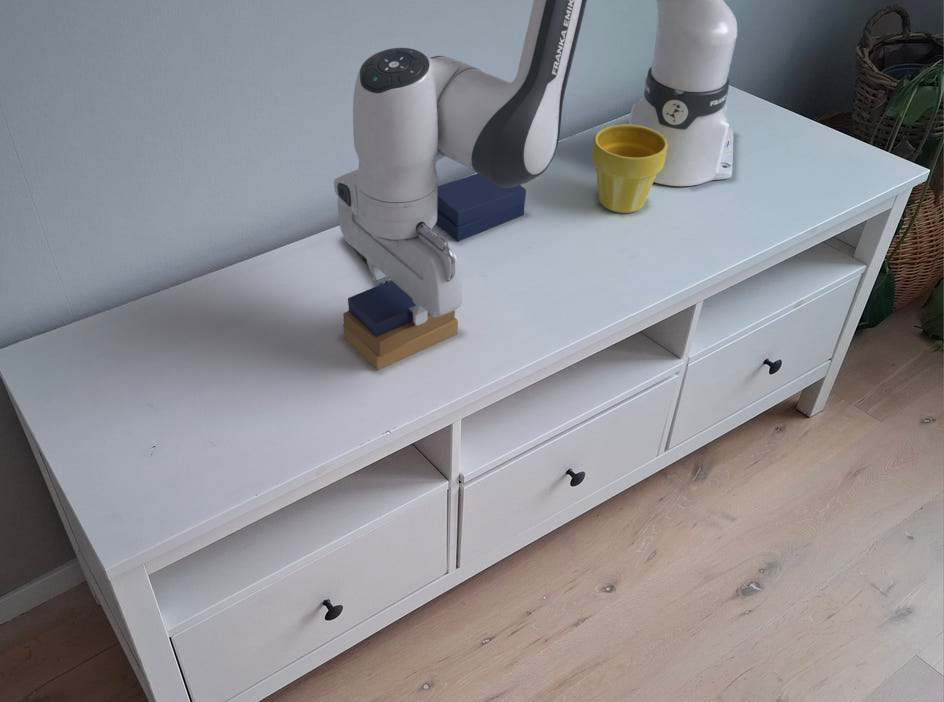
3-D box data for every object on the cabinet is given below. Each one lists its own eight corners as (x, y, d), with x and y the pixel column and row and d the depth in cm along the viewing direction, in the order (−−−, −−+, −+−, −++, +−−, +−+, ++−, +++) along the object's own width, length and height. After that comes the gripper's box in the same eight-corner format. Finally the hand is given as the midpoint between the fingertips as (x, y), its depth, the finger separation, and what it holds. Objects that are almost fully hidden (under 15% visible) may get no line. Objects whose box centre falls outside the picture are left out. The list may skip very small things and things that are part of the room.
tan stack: (422, 303, 125) (422, 275, 122) (459, 335, 121) (460, 307, 118) (341, 338, 120) (339, 309, 117) (377, 373, 116) (375, 344, 112)
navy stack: (492, 191, 145) (494, 165, 141) (526, 215, 140) (528, 188, 137) (426, 217, 139) (426, 190, 136) (458, 242, 135) (459, 215, 132)
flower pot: (595, 177, 148) (604, 117, 141) (662, 191, 146) (674, 130, 139) (578, 212, 141) (586, 150, 134) (648, 226, 139) (660, 164, 132)
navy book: (423, 280, 121) (423, 266, 120) (451, 304, 118) (452, 290, 117) (348, 311, 117) (347, 297, 115) (376, 337, 113) (375, 323, 112)
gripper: (477, 239, 103) (473, 340, 113) (371, 158, 114) (376, 257, 124) (429, 259, 100) (429, 361, 110) (325, 174, 111) (333, 273, 121)
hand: (400, 305), depth 117 cm, fingers closed on navy book, 6 cm apart
